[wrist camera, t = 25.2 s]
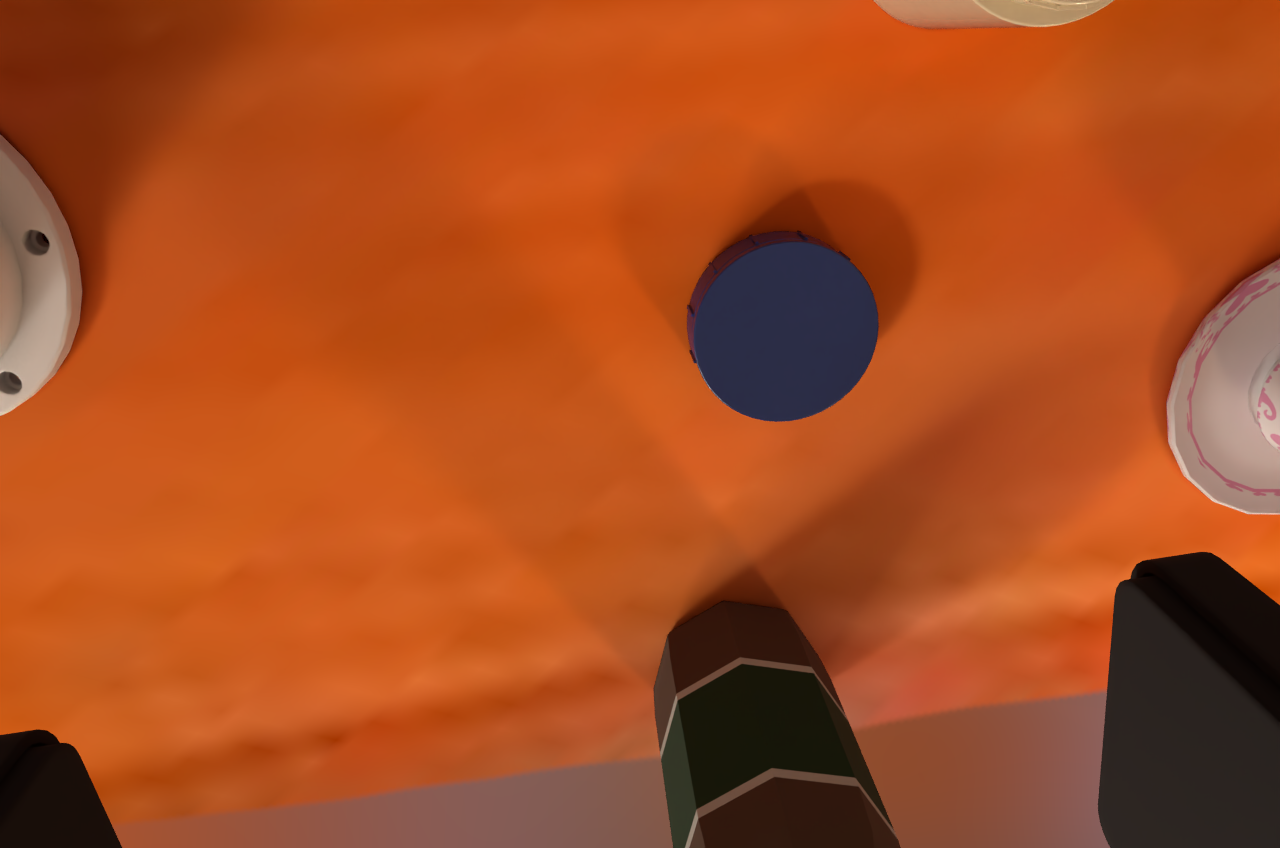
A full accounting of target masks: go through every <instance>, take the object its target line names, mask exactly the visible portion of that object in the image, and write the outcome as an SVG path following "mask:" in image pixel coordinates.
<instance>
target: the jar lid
mask: <svg viewBox="0 0 1280 848" xmlns="http://www.w3.org/2000/svg"><path fill="white" fill-rule="evenodd" d="M850 260H851V259H850V258H849V257H847V256H846V255H845V254H843V253H842V252H841V251H839V252H837V251H836V250H835V249H833V248H832V247H831V246H830V245H828V244H826V243H825V242H823V241H821V240H819V239H817V238H814V237H812V236H809V235H806V234H803V233H802V232H801V231H797V232H789V231H774V232H767V233H762V234H758V235H755V236H752V235H749V238H746V239H744V240H742V241H739V242H738V243H736V244H734V245H733V246H731V247H729V248H728V249H727V250H725V251H724V252H723V253H721V254H720V255H719V256H718V257H717V258H716V259H715V260H714V261H713V262H712V263H711V262H710V263H709V264H708V265H709V266H708V268H707V269H706V270H705V272H704V273H703V274H702V276H701V278H700V279H699V281H698V283H697V285H696V287H695V289H694V292H693V294H692V297H691V301H690V304H689V305H687V309H688V316H687V332H688V340H689V344H690V347H691V350H689V351H690V354H691V357H692V359H693V362H694V363H697V366H698V368H699V370H700V373H701V375H702V377H703V379H704V381H705V382H706V384H707V386H708V387H709V388H710V389H711V391H712V392H713V393H714V394H715V395H716V396H717V397H718V398H719V399H720V400H721V401H722V402H723V403H724V404H726V405H727V406H729V407H730V408H732V409H733V410H735V411H737V412H739V413H741V414H743V415H746V416H749V417H751V418H755V419H760V420H764V421H775V422H777V421H792V420H798V419H802V418H806V417H809V416H812V415H814V414H817V413H819V412H822V411H823V410H825V409H827V408H829V407H831V406H832V405H834V404H835V403H836V402H838V401H839V400H841V399H842V398H843V397H844V396H845V395H846V394H847V393H849V392H850V391H851V390H852V388H853V387H854V386H855V385H856V384H857V383H858V381H859V380H860V379H861V377H862V376H863V374H864V373H865V371H866V369H867V367H868V365H869V363H870V361H871V359H872V356H873V353H874V350H875V346H876V342H877V337H878V312H877V306H876V302H875V299H874V296H873V293H872V290H871V288H870V286H869V284H868V282H867V281H866V279H865V278H864V276H863V275H862V273H861V272H860V271H859V270H858V269H857V268H856V267H855V266H854V265H853V264H852V263H851V262H850Z"/></svg>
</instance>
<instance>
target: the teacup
mask: <svg viewBox="0 0 1280 848" xmlns="http://www.w3.org/2000/svg"><path fill="white" fill-rule="evenodd" d="M1166 406H1167V427H1168V443H1169V445H1170V447H1171V450H1172V452H1173V454H1174V456H1175V458H1176V461H1177V463H1178V465H1179V467H1180V469H1181V472H1182V474H1183V476H1185V477H1186V478H1187V479H1188V480H1189V481H1190V482H1191V483H1192V484H1193V485H1195V486H1196V487H1197V488H1198V489H1199V490H1200V491H1201V492H1202V493H1203V494H1205V495H1206V496H1207V497H1208V498H1209V499H1210V500H1212V501H1213V502H1216V503H1219V504H1221V505H1224V506H1227V507H1230V508H1233V509H1236V510H1238V511H1241V512H1244V513H1247V514H1280V259H1278V260H1276V261H1275V262H1273V263H1271V264H1269V265H1268V266H1266V267H1264V268H1263V269H1261V270H1259V271H1258V272H1256V273H1254V274H1253V275H1251V276H1249V277H1247V278H1246V279H1244V280H1242V281H1241V282H1240V283H1239V284H1238V285H1237V286H1236V287H1235V288H1234V289H1233V290H1232V291H1231V292H1230V293H1229V294H1228V295H1227V296H1226V297H1225V298H1224V299H1223V300H1222V301H1220V302H1219V303H1218V304H1217V305H1216V306H1215V307H1214V308H1213V309H1212V310H1211V311H1210V312H1209V313H1208V314H1207V315H1206V316H1205V317H1204V319H1203V320H1202V322H1201V323H1200V325H1199V327H1198V328H1197V330H1196V332H1195V333H1194V335H1193V337H1192V338H1191V340H1190V342H1189V343H1188V345H1187V346H1186V348H1185V350H1184V351H1183V353H1182V355H1181V356H1180V358H1179V360H1178V363H1177V367H1176V370H1175V374H1174V377H1173V381H1172V384H1171V388H1170V391H1169V395H1168V399H1167V402H1166Z"/></svg>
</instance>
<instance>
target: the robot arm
mask: <svg viewBox="0 0 1280 848" xmlns="http://www.w3.org/2000/svg"><path fill="white" fill-rule="evenodd" d="M42 233H43V234H45V236H46V237H47V239H48V240H49V244H48V243H46V242H45V241H44V240H43V238H42ZM81 302H82V284H81V275H80V266H79V258H78V255H77V252H76V249H75V246H74V242H73V239H72V236H71V233H70V230H69V227H68V224H67V222H66V220H65V219H64V217H63V215H62V213H61V211H60V209H59V207H58V205H57V203H56V201H55V199H54V197H53V195H52V193H51V192H50V190H49V189H48V188H47V186H46V185H45V184H44V182H43V181H42V180H41V178H40V177H39V176H38V174H37V173H36V172H35V170H34V169H33V168H32V166H31V165H30V164H29V162H28V161H27V160H26V159H25V158H24V157H23V156H22V155H21V154H20V153H19V152H18V151H17V150H16V149H15V148H14V147H13V146H12V145H11V144H10V143H9V142H8V141H7V140H6V139H5V138H4V137H3V136H2V135H1V134H0V416H1V415H3V414H6V413H8V412H10V411H12V410H13V409H14V408H16V407H17V406H19V405H20V404H22V403H23V402H25V401H26V400H28V399H29V398H31V397H32V396H34V395H35V394H36V393H37V392H38V391H39V390H40V389H41V388H42V387H43V386H44V385H45V384H46V383H47V382H48V381H49V380H50V379H51V378H52V377H53V376H54V375H55V374H56V372H57V371H58V369H59V367H60V366H61V364H62V363H63V361H64V360H65V358H66V356H67V355H68V353H69V352H70V349H71V346H72V343H73V340H74V337H75V335H76V332H77V329H78V326H79V322H80V312H81ZM16 375H17V376H18V377H19V378H18V377H17V376H16ZM1098 813H1099V818H1100V823H1101V826H1102V830H1103V833H1104V835H1105V837H1106V840H1107V842H1108V844H1109V845H1110V847H1111V848H1280V605H1279V604H1277V603H1276V602H1275V601H1273V600H1272V599H1271V598H1270V597H1268V596H1267V595H1266V594H1265V593H1263V592H1262V591H1261V590H1260V589H1258V588H1257V587H1256V586H1255V585H1253V584H1252V583H1251V582H1250V581H1248V580H1247V579H1246V578H1245V577H1243V576H1242V575H1241V574H1239V573H1238V572H1237V571H1236V570H1234V569H1233V568H1232V567H1231V566H1229V565H1228V564H1227V563H1226V562H1224V561H1223V560H1222V559H1221V558H1219V557H1217V556H1215V555H1214V554H1212V553H1208V552H1197V553H1190V554H1184V555H1177V556H1171V557H1164V558H1158V559H1151V560H1145V561H1142V562H1140V563H1138V564H1137V565H1136V566H1135V568H1134V569H1133V571H1132V574H1131V579H1129V580H1124V581H1122V582H1120V583H1119V585H1118V587H1117V588H1116V593H1115V600H1114V613H1113V625H1112V638H1111V650H1110V662H1109V675H1108V687H1107V700H1106V712H1105V725H1104V738H1103V750H1102V762H1101V775H1100V786H1099V799H1098ZM0 848H122V847H121V845H120V842H119V840H118V838H117V836H116V833H115V831H114V829H113V827H112V825H111V822H110V820H109V818H108V816H107V814H106V812H105V809H104V807H103V805H102V803H101V801H100V799H99V796H98V794H97V792H96V790H95V788H94V785H93V783H92V781H91V779H90V777H89V775H88V772H87V770H86V768H85V766H84V764H83V761H82V759H81V757H80V755H79V753H78V752H77V750H76V749H75V748H74V747H73V746H71V745H70V744H67V743H60V742H59V741H58V739H57V738H56V736H54V735H53V734H51V733H50V732H48V731H46V730H31V731H25V732H18V733H12V734H5V735H0Z"/></svg>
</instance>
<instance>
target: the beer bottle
mask: <svg viewBox="0 0 1280 848" xmlns="http://www.w3.org/2000/svg"><path fill="white" fill-rule="evenodd" d="M654 705H655V718H656V726H657V733H658V740H659V747H660V755H661V762H662V769H663V776H664V784H665V791H666V798H667V805H668V812H669V820H670V827H671V834H672V841H673V848H900V845H899V841H898V839H897V837H896V834H895V832H894V829H893V827H892V824H891V822H890V820H889V817H888V815H887V812H886V810H885V808H884V805H883V803H882V801H881V798H880V796H879V793H878V791H877V789H876V786H875V784H874V781H873V779H872V777H871V774H870V772H869V769H868V767H867V765H866V762H865V760H864V758H863V755H862V753H861V750H860V748H859V746H858V743H857V741H856V738H855V736H854V734H853V731H852V729H851V726H850V724H849V722H848V719H847V717H846V715H845V712H844V710H843V707H842V705H841V703H840V700H839V698H838V695H837V693H836V691H835V688H834V686H833V684H832V681H831V679H830V677H829V675H828V673H827V671H826V669H825V667H824V665H823V664H822V662H821V660H820V658H819V656H818V654H817V653H816V652H815V650H814V649H813V647H812V646H811V644H810V643H809V642H808V640H807V639H806V637H805V636H804V634H803V633H802V632H801V630H800V629H799V627H798V626H797V624H796V623H795V622H794V620H793V619H792V617H791V616H790V615H789V613H788V612H787V611H785V610H783V609H777V608H770V607H763V606H756V605H749V604H742V603H735V602H728V601H722V602H720V603H719V604H717V605H715V606H713V607H712V608H710V609H708V610H707V611H705V612H703V613H701V614H700V615H698V616H696V617H695V618H693V619H691V620H690V621H688V622H686V623H684V624H683V625H681V626H679V627H678V628H676V629H674V630H672V631H671V632H670V633H669V634H668V636H667V640H666V644H665V648H664V651H663V655H662V659H661V663H660V666H659V670H658V674H657V678H656V681H655V685H654Z"/></svg>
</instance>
